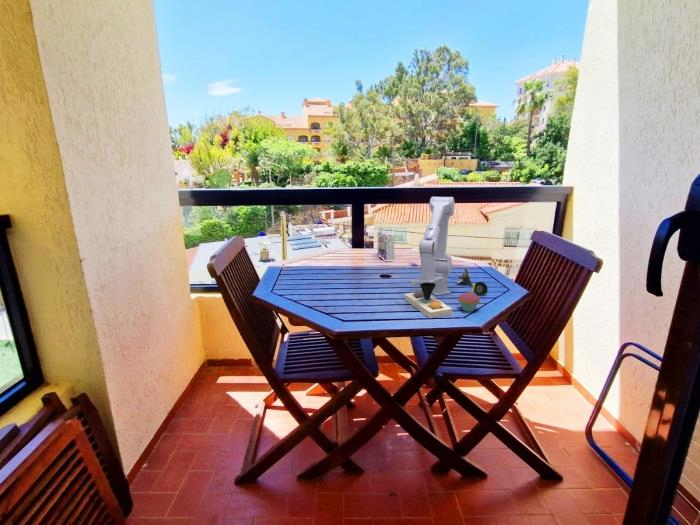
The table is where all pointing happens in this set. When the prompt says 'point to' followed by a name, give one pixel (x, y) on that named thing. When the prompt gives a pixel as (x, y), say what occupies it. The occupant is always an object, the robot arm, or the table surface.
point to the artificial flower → (479, 286)
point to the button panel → (428, 306)
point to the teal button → (426, 300)
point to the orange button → (435, 305)
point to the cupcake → (469, 300)
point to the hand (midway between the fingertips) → (427, 299)
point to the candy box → (386, 245)
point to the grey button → (418, 294)
